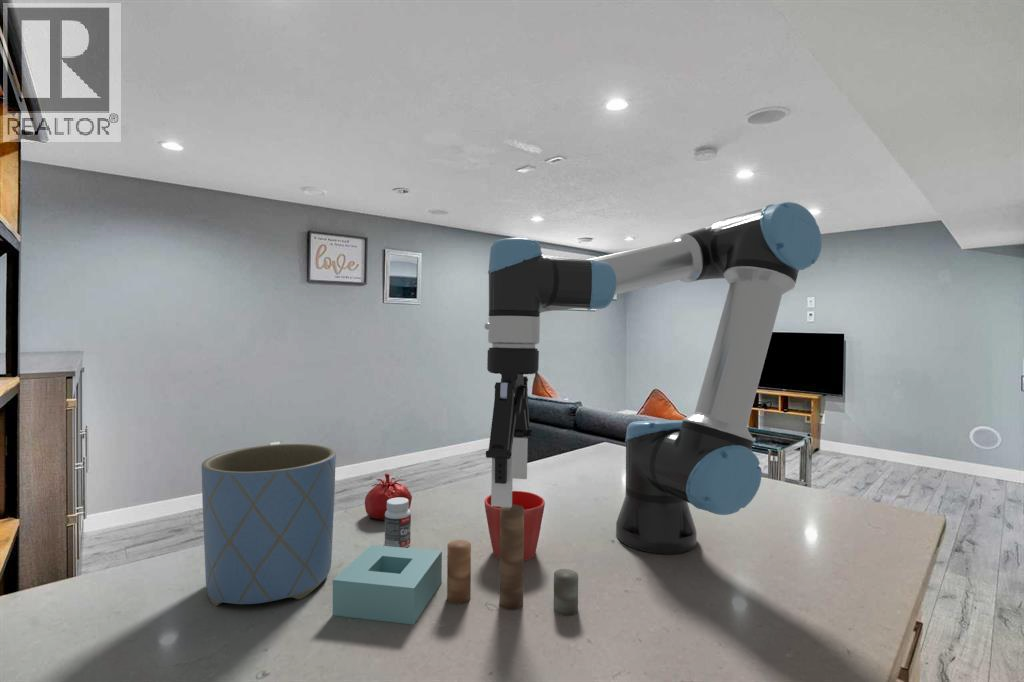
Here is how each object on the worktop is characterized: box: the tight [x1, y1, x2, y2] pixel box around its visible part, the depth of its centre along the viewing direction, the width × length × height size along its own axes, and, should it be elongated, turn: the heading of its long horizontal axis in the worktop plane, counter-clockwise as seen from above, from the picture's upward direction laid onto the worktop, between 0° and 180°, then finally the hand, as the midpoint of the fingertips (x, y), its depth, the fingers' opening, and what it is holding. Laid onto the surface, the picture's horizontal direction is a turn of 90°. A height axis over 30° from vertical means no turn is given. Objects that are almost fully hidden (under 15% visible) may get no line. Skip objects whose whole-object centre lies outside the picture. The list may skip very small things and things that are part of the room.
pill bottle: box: [384, 497, 412, 548], centre depth 94 cm, size 5×5×8 cm
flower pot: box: [483, 490, 546, 562], centre depth 91 cm, size 11×11×10 cm
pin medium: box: [446, 539, 472, 605], centre depth 75 cm, size 4×4×8 cm
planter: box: [200, 443, 337, 607], centre depth 80 cm, size 19×19×20 cm
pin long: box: [498, 505, 525, 611], centre depth 74 cm, size 4×4×14 cm
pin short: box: [553, 568, 579, 617], centre depth 73 cm, size 4×4×5 cm
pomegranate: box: [364, 472, 413, 521], centre depth 109 cm, size 10×10×9 cm
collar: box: [332, 544, 443, 626], centre depth 75 cm, size 12×12×5 cm
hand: (510, 491), depth 74 cm, fingers open, 13 cm apart
